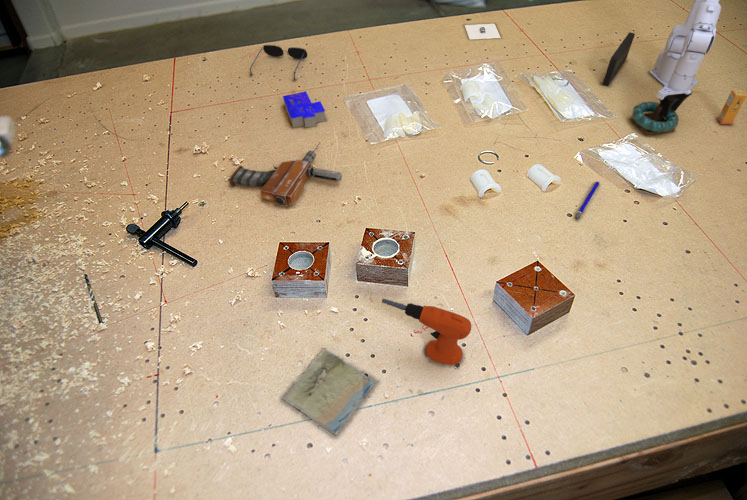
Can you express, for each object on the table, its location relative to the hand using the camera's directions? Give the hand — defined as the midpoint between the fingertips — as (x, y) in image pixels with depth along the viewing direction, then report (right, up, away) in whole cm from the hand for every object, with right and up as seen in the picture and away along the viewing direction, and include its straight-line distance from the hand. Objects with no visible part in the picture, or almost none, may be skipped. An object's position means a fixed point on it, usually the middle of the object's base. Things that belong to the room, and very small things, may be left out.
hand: (666, 112), depth 160 cm
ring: (-4, -2, -2) cm, 5 cm away
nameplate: (-6, +20, +22) cm, 30 cm away
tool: (-113, -20, -9) cm, 115 cm away
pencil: (-33, -29, -21) cm, 48 cm away
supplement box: (+18, -3, +1) cm, 18 cm away
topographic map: (-99, -71, -55) cm, 133 cm away
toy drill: (-79, -63, -49) cm, 112 cm away
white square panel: (-47, +43, +44) cm, 78 cm away
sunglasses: (-124, +24, +31) cm, 130 cm away
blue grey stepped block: (-112, +2, +10) cm, 113 cm away
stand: (-4, -4, +1) cm, 6 cm away
